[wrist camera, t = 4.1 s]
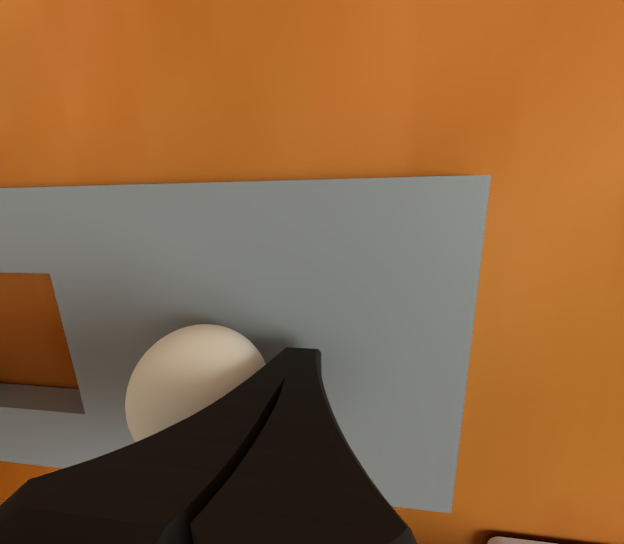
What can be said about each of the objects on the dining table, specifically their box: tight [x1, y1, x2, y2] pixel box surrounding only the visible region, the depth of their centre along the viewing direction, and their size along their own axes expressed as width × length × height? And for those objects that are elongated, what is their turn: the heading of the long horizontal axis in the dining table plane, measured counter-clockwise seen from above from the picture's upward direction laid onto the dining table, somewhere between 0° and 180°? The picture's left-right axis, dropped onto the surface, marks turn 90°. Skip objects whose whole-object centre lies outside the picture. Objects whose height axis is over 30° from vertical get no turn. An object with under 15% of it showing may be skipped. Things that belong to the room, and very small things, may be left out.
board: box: [0, 175, 491, 513], centre depth 13 cm, size 12×26×2 cm, turn 91°
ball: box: [125, 324, 266, 442], centre depth 10 cm, size 4×4×4 cm
